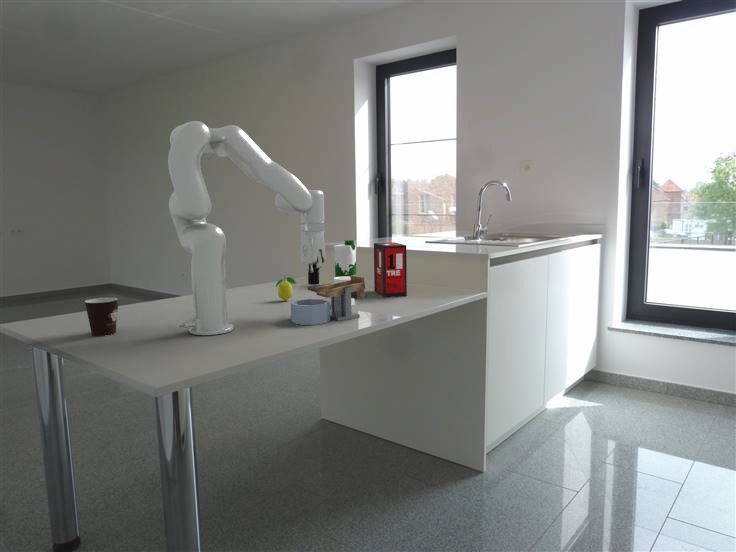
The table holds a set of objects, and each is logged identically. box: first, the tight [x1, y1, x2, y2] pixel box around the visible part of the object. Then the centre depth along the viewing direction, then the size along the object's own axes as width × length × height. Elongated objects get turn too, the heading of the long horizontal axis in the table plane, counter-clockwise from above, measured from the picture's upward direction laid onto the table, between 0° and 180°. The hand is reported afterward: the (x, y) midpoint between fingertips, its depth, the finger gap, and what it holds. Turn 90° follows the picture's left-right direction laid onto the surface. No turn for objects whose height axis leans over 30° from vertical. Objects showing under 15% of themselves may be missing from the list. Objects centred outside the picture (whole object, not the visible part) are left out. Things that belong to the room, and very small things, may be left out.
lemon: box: [275, 275, 297, 302], centre depth 212 cm, size 7×6×10 cm
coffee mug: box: [84, 297, 119, 337], centre depth 165 cm, size 12×9×10 cm
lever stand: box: [330, 288, 360, 322], centre depth 182 cm, size 8×10×10 cm
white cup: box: [333, 276, 356, 307], centre depth 202 cm, size 8×8×10 cm
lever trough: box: [306, 275, 366, 300], centre depth 184 cm, size 14×14×7 cm
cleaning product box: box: [373, 242, 408, 298], centre depth 224 cm, size 16×9×20 cm, turn 13°
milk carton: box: [333, 239, 357, 278], centre depth 249 cm, size 9×9×20 cm
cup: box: [290, 298, 331, 326], centre depth 176 cm, size 11×11×6 cm
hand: (313, 284), depth 184 cm, fingers closed
